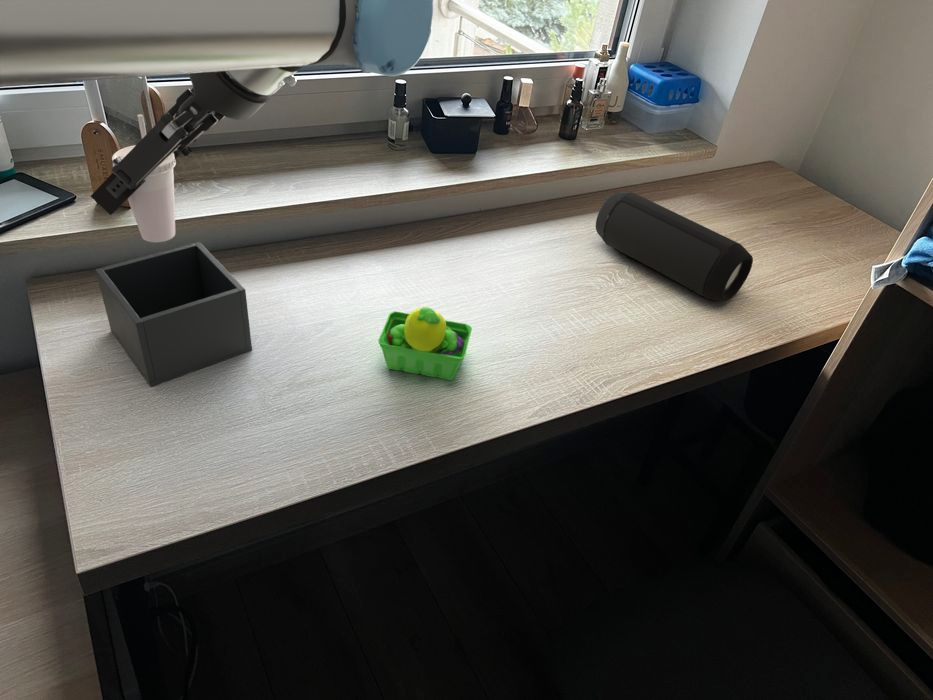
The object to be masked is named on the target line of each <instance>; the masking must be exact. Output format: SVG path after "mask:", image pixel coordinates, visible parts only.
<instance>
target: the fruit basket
mask: <svg viewBox="0 0 933 700" xmlns="http://www.w3.org/2000/svg"><path fill="white" fill-rule="evenodd" d="M472 329H473V328H472V326H471V325H469V324H467V323H464V322H457V321H451V320H446V319H445V318H444V316H443V315H442V314H441V313H439V311H436V310H434V309H433V308H431V307H429V306H428V307H427V306H423V307H420V308H416V309H414V310H413V311H411V312H410V313H408V312H407V313H406V312H402V311H391V312H389V314H388V316H387V319H386V321H385V323H384V326H383V328H382V331H381V333H380V336H378V337H379V338H378V344H379V346H380V348H381V350H382V353H383V357H384V360H385V364H386V368H387V369H388V370H392V371H393V370H394V371H403V372H405V373H409V374H415V375H416V374H417V375H419V374H420V375H423V376H426V377H432V378H439V379H441V380H448V381H453V380H454V378H455V376H456V374H457V372H458V369H459V367H460V365H461V363H462V362H463V361H464V359H465V357H466V354H467V350H468V346H469V342H470V338H471V335H472Z"/></svg>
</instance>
